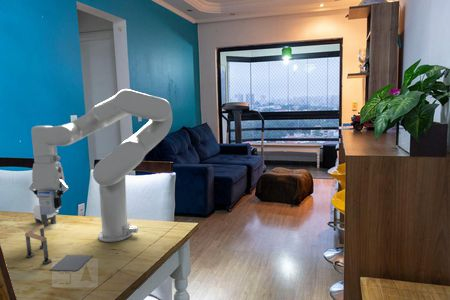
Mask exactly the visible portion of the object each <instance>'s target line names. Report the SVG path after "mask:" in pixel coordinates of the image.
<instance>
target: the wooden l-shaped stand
mask: <svg viewBox="0 0 450 300" xmlns="http://www.w3.org/2000/svg"><path fill="white" fill-rule="evenodd" d="M38 231H39V233H40V235H39V234H35V233H36V232H38ZM24 233H25V234H24V235H25V242H26V243H25V244H26V252H27V254H25V259H31V258H33V257H35V256H34V255H35V254H34V253H33V252H32V244H31V243H32V242H31V239H35V240H37V241H40V243H41V245H40V246H39V249H40V250H43V259H44V260H42V265H49V264H50V263H52V260H51V259H50V258H49V250H48V239H47V237H46V236H45V226H44V225H43V224H40V225H39V224H38V226H36V227H33V228H32V229H29V230H28V231H26V232H24Z"/></svg>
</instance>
